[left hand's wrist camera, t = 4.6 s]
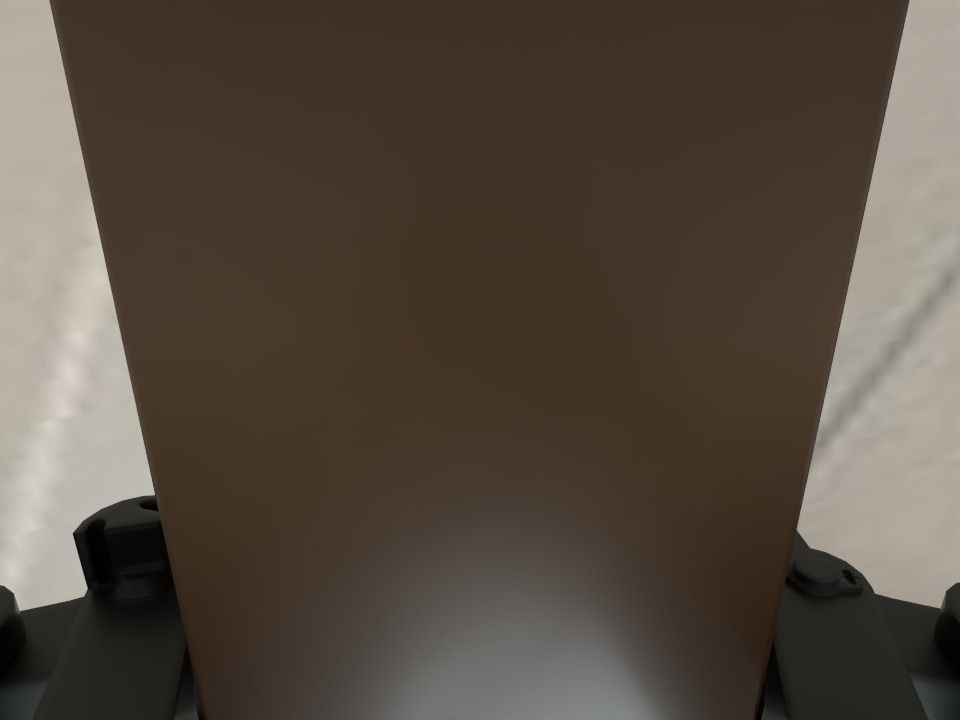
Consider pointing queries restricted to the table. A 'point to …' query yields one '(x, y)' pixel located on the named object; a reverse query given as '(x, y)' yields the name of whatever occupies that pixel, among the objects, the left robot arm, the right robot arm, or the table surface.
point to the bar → (479, 333)
